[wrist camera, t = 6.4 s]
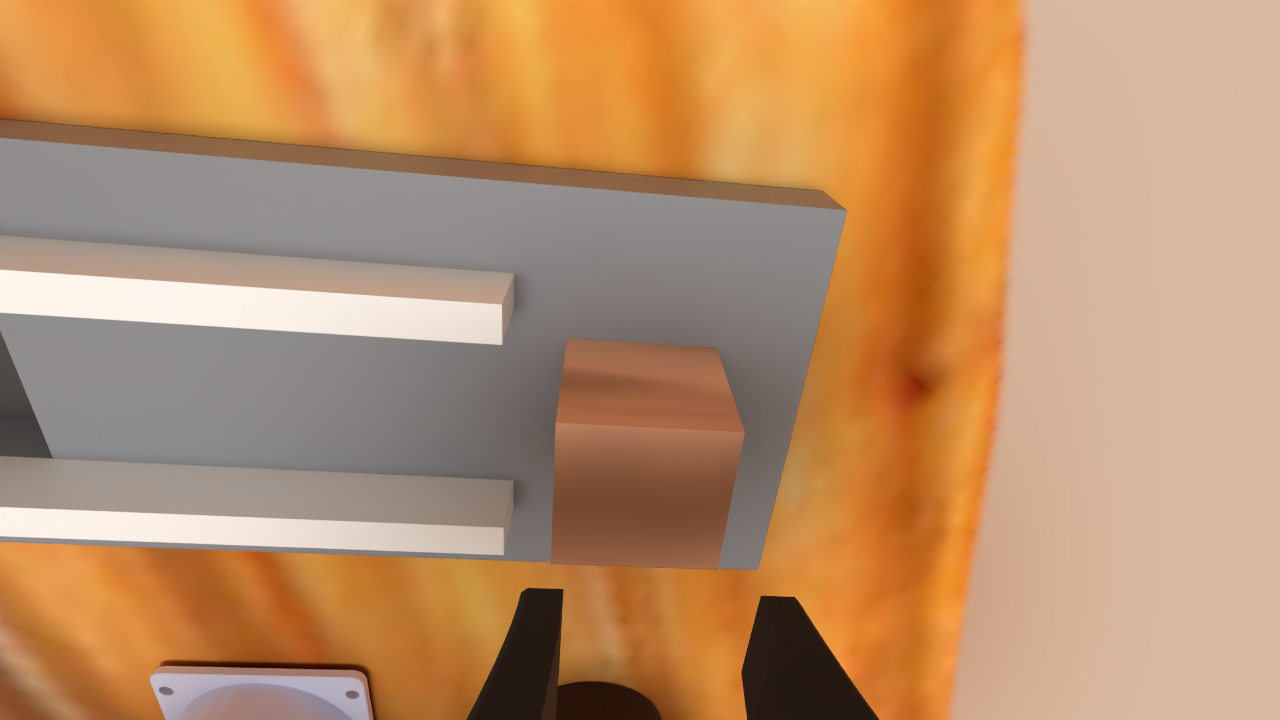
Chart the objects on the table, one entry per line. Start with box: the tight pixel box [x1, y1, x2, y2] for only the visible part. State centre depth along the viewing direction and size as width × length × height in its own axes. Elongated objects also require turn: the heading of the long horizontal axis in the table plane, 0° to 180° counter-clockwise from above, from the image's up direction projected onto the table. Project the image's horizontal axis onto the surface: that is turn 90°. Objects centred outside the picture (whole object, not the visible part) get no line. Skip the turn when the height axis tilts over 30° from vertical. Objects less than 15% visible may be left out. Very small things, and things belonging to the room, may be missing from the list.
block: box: [551, 338, 745, 570], centre depth 16 cm, size 4×4×4 cm
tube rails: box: [0, 235, 514, 555], centre depth 16 cm, size 8×20×2 cm, turn 85°
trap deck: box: [0, 119, 847, 570], centre depth 18 cm, size 12×28×2 cm, turn 85°
